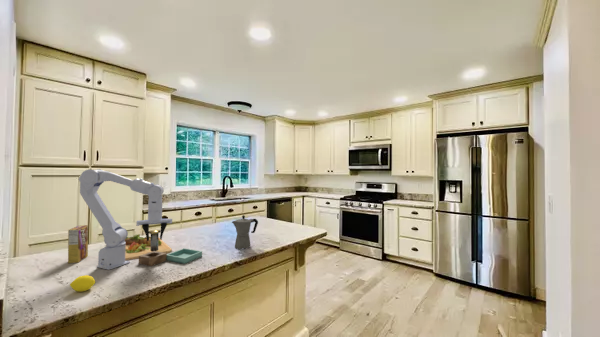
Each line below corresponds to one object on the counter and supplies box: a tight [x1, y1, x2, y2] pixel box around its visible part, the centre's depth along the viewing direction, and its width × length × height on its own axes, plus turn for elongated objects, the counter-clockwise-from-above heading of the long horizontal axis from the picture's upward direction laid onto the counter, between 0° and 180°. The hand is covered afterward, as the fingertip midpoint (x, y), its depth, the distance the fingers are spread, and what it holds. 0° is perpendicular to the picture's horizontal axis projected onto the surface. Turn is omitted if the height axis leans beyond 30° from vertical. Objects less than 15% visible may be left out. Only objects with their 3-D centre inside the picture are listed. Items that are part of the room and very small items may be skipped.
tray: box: [166, 247, 203, 265], centre depth 127 cm, size 12×12×2 cm
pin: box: [149, 229, 161, 251], centre depth 120 cm, size 5×5×9 cm
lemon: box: [69, 274, 96, 293], centre depth 91 cm, size 7×5×5 cm
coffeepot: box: [231, 214, 259, 250], centre depth 148 cm, size 15×9×18 cm, turn 118°
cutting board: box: [125, 234, 173, 261], centre depth 140 cm, size 35×23×8 cm
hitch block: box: [138, 251, 168, 267], centre depth 120 cm, size 8×8×4 cm
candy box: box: [67, 224, 89, 264], centre depth 120 cm, size 9×4×15 cm, turn 17°
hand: (154, 239), depth 120 cm, fingers closed on pin, 5 cm apart
